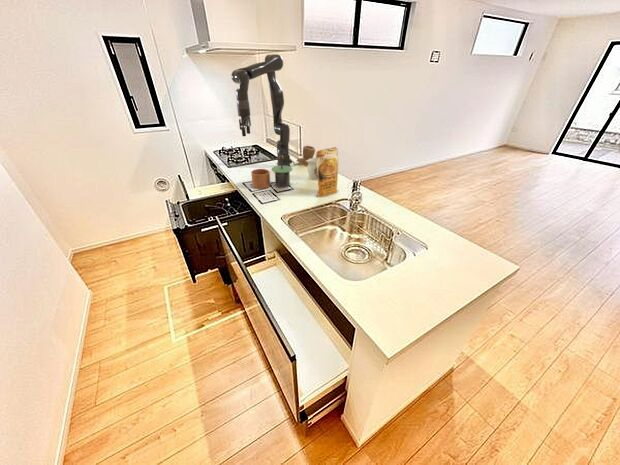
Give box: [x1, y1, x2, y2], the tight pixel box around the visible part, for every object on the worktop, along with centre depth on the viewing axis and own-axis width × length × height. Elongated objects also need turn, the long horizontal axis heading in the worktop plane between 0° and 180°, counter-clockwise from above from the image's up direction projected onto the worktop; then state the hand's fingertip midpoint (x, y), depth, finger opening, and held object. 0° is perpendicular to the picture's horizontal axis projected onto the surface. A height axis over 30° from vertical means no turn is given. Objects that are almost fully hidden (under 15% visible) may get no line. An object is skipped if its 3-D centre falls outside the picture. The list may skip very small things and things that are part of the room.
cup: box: [274, 171, 291, 188], centre depth 173 cm, size 10×10×10 cm
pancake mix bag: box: [315, 146, 339, 198], centre depth 158 cm, size 7×19×28 cm, turn 127°
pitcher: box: [306, 157, 318, 181], centre depth 185 cm, size 11×18×14 cm, turn 124°
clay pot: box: [250, 168, 271, 190], centre depth 171 cm, size 12×12×10 cm
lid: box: [271, 155, 293, 173], centre depth 168 cm, size 14×14×10 cm
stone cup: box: [296, 145, 316, 167], centre depth 211 cm, size 15×12×15 cm
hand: (246, 134), depth 168 cm, fingers open, 8 cm apart
